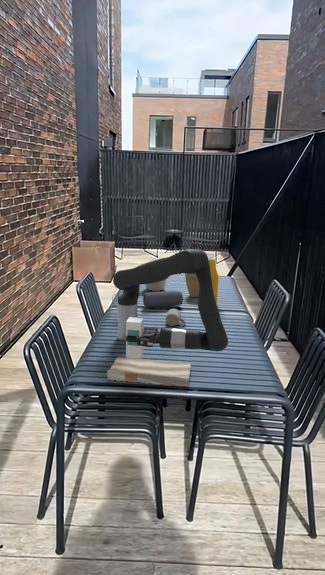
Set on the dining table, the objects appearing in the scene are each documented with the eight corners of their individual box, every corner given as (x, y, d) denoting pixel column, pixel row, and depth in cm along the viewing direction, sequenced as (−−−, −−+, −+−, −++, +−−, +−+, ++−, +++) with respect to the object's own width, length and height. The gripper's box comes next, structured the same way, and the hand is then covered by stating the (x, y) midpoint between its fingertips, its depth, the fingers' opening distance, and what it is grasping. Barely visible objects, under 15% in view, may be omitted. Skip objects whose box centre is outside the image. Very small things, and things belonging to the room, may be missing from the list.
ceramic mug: (164, 326, 203) (165, 312, 201) (166, 321, 211) (167, 307, 209) (185, 328, 201) (185, 314, 200) (186, 323, 209) (187, 309, 207)
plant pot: (191, 292, 273) (192, 270, 269) (210, 296, 264) (211, 273, 260) (179, 296, 261) (180, 273, 257) (198, 300, 252) (200, 276, 249)
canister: (158, 294, 265) (159, 263, 260) (137, 290, 275) (137, 260, 270) (172, 289, 280) (173, 260, 275) (151, 285, 290) (152, 257, 285)
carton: (129, 351, 150) (129, 317, 147) (143, 352, 149) (143, 318, 146) (126, 357, 145) (125, 321, 141) (140, 358, 144) (140, 322, 141)
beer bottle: (212, 307, 238) (215, 261, 231) (199, 304, 243) (201, 259, 236) (219, 304, 245) (222, 259, 238) (206, 301, 250) (209, 257, 243)
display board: (117, 362, 159) (117, 354, 158) (190, 368, 155) (191, 360, 154) (107, 380, 144) (107, 371, 143) (188, 387, 140) (188, 378, 139)
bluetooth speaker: (177, 304, 244) (178, 288, 241) (183, 308, 235) (183, 292, 233) (142, 306, 237) (142, 290, 234) (146, 311, 228) (147, 294, 226)
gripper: (175, 322, 149) (132, 320, 151) (171, 335, 136) (123, 332, 138) (174, 340, 151) (132, 338, 153) (170, 355, 137) (123, 352, 139)
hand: (128, 335), depth 145 cm, fingers closed on carton, 5 cm apart
